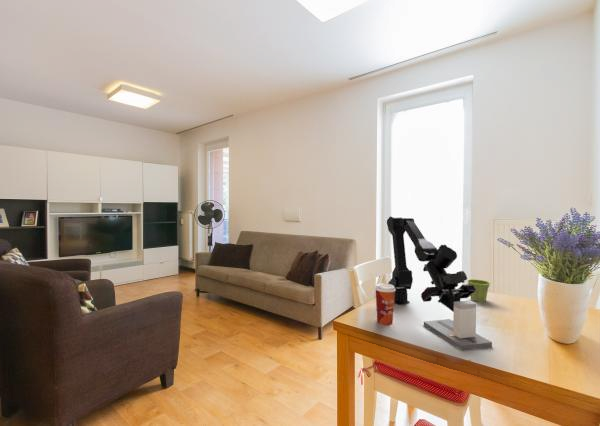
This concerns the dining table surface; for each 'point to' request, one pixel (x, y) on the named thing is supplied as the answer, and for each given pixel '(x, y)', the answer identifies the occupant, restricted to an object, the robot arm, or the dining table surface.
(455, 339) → the fader console
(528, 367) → the dining table surface
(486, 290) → the plant pot
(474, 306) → the fader handle
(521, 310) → the dining table surface
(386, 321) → the paper cup
